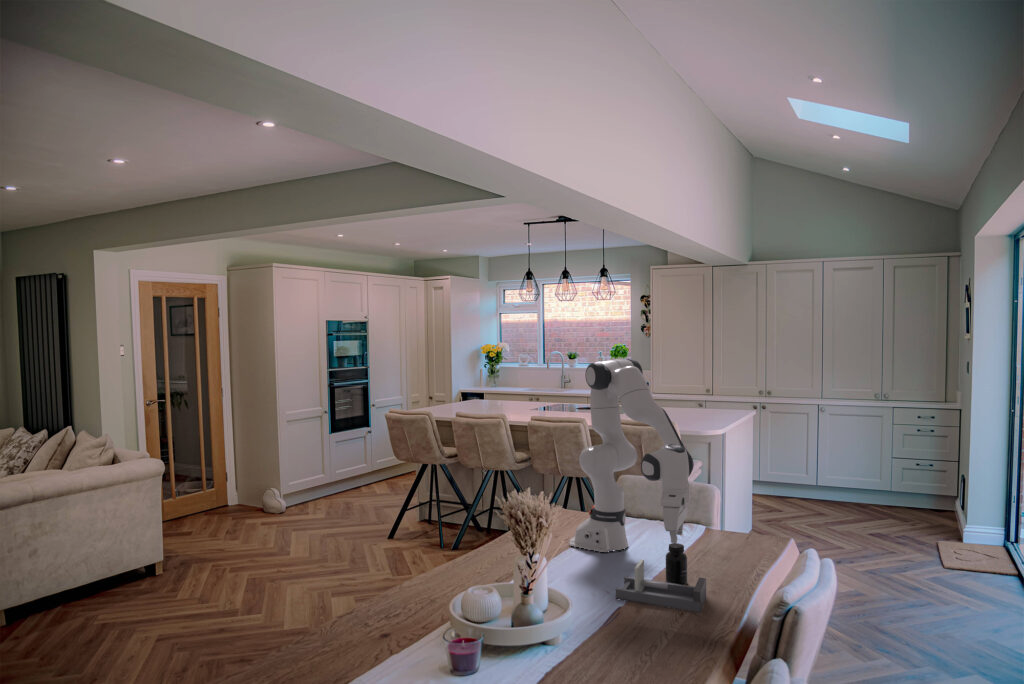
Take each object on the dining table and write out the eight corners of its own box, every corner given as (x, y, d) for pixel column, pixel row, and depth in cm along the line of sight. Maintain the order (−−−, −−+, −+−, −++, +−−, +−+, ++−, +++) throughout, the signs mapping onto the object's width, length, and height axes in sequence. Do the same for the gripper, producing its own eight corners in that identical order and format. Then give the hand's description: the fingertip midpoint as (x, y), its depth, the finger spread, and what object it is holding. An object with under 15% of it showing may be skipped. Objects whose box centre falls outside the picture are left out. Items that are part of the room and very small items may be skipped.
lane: (615, 599, 194) (615, 579, 194) (625, 585, 204) (625, 567, 204) (700, 612, 184) (700, 592, 184) (706, 598, 194) (705, 578, 194)
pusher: (634, 597, 193) (634, 568, 193) (641, 588, 201) (640, 559, 201) (664, 602, 189) (664, 572, 189) (670, 592, 197) (669, 563, 197)
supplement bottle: (688, 587, 203) (687, 549, 203) (666, 585, 204) (665, 548, 204) (686, 578, 209) (686, 542, 209) (665, 577, 211) (664, 541, 211)
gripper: (671, 488, 217) (673, 529, 217) (659, 501, 199) (660, 546, 198) (690, 489, 215) (692, 530, 214) (680, 503, 196) (681, 548, 196)
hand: (676, 538), depth 206 cm, fingers open, 8 cm apart
